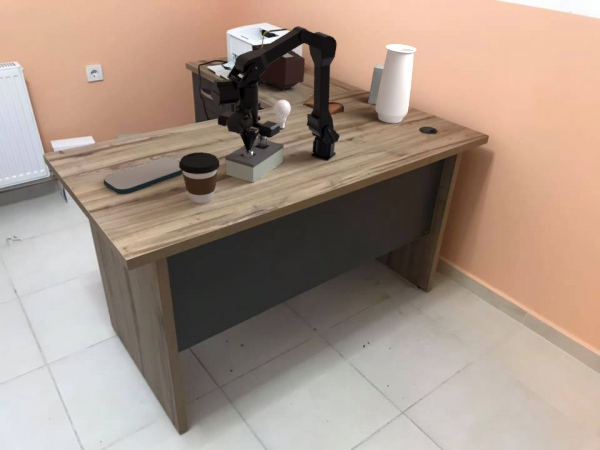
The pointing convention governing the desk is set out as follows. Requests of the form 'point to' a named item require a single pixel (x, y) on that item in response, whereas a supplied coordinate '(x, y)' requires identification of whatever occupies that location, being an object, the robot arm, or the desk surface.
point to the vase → (395, 84)
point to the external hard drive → (143, 175)
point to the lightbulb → (282, 111)
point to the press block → (254, 161)
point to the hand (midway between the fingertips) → (248, 150)
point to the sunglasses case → (333, 106)
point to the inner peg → (262, 142)
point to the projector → (283, 68)
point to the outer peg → (248, 153)
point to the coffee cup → (200, 175)
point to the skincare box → (375, 84)
